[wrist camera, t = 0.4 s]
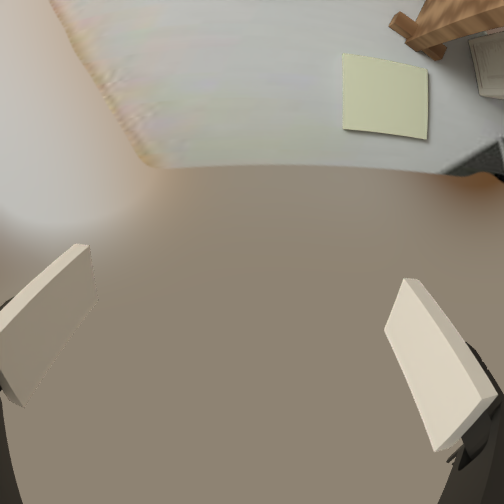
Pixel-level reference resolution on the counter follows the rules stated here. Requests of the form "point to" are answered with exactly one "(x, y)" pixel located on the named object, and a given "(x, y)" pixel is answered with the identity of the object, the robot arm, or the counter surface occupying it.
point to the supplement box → (489, 64)
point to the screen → (447, 23)
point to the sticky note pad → (384, 96)
